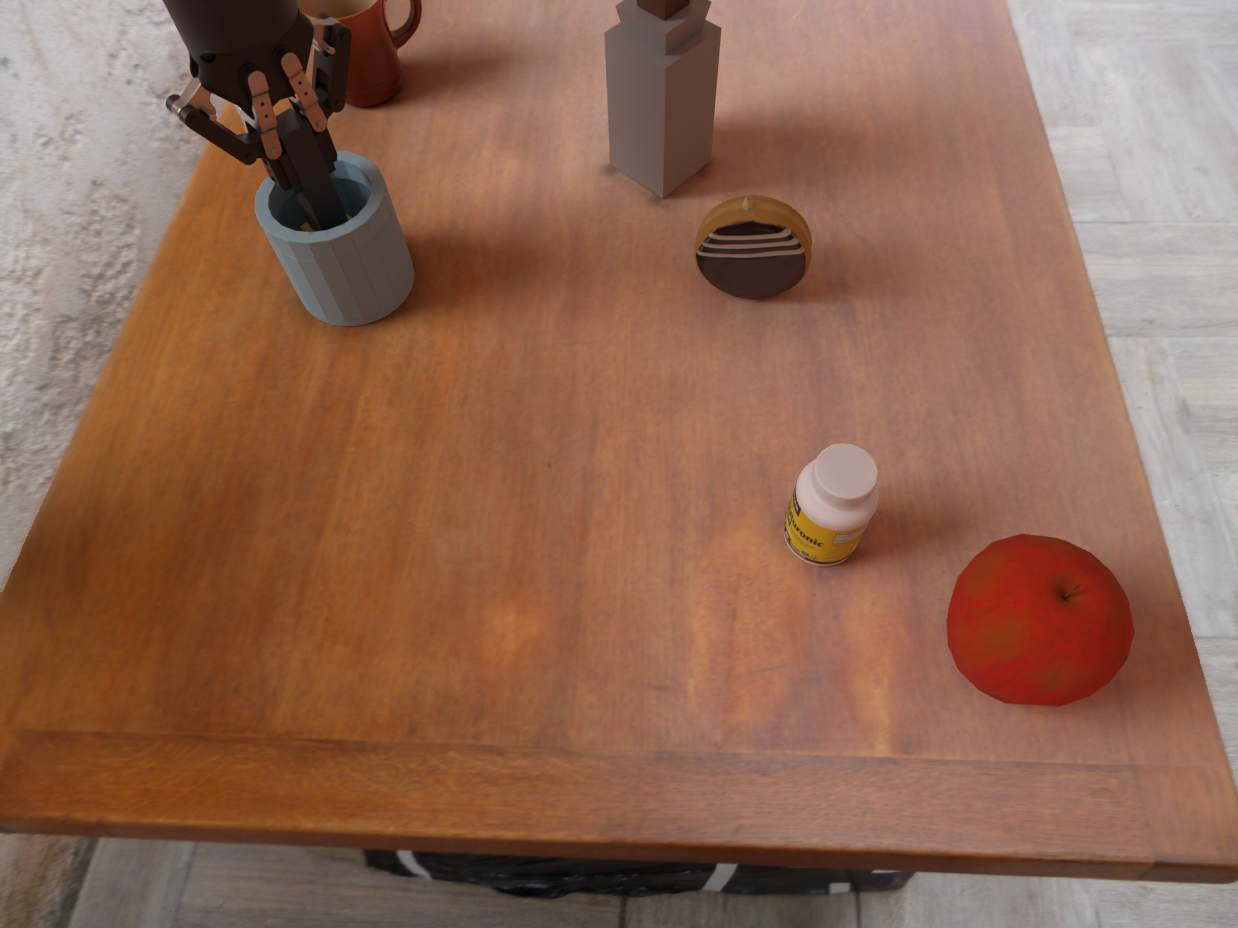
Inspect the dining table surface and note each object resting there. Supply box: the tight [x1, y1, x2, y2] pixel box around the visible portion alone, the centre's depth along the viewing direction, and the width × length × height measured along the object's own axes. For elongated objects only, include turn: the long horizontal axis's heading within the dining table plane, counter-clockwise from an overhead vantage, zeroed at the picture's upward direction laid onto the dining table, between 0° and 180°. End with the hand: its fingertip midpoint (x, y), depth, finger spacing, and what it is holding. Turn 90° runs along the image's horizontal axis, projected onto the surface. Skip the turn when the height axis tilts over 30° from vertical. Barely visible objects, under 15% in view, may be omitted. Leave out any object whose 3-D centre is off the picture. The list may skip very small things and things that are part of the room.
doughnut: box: [693, 194, 813, 300], centre depth 69 cm, size 9×4×10 cm, turn 79°
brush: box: [275, 107, 352, 232], centre depth 67 cm, size 4×4×14 cm
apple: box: [946, 533, 1136, 707], centre depth 52 cm, size 10×10×12 cm
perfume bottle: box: [603, 0, 722, 199], centre depth 73 cm, size 7×7×18 cm
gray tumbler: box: [254, 149, 416, 327], centre depth 70 cm, size 10×10×10 cm
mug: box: [297, 0, 423, 108], centre depth 83 cm, size 12×9×10 cm
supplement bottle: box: [782, 442, 880, 567], centre depth 57 cm, size 5×5×10 cm
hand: (308, 177), depth 65 cm, fingers closed on brush, 2 cm apart
